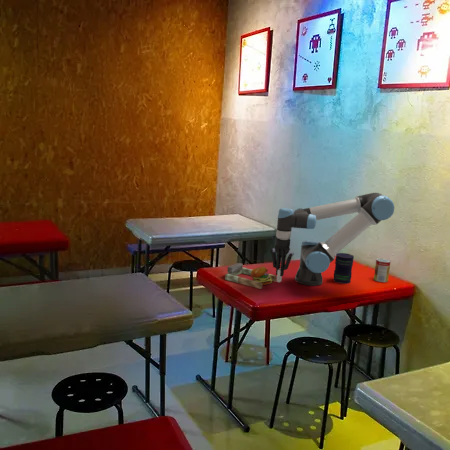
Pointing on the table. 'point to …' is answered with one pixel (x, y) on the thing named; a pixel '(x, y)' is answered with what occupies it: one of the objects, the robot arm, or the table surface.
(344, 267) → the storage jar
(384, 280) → the canned food
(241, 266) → the open wooden tray
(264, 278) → the cheeseburger
